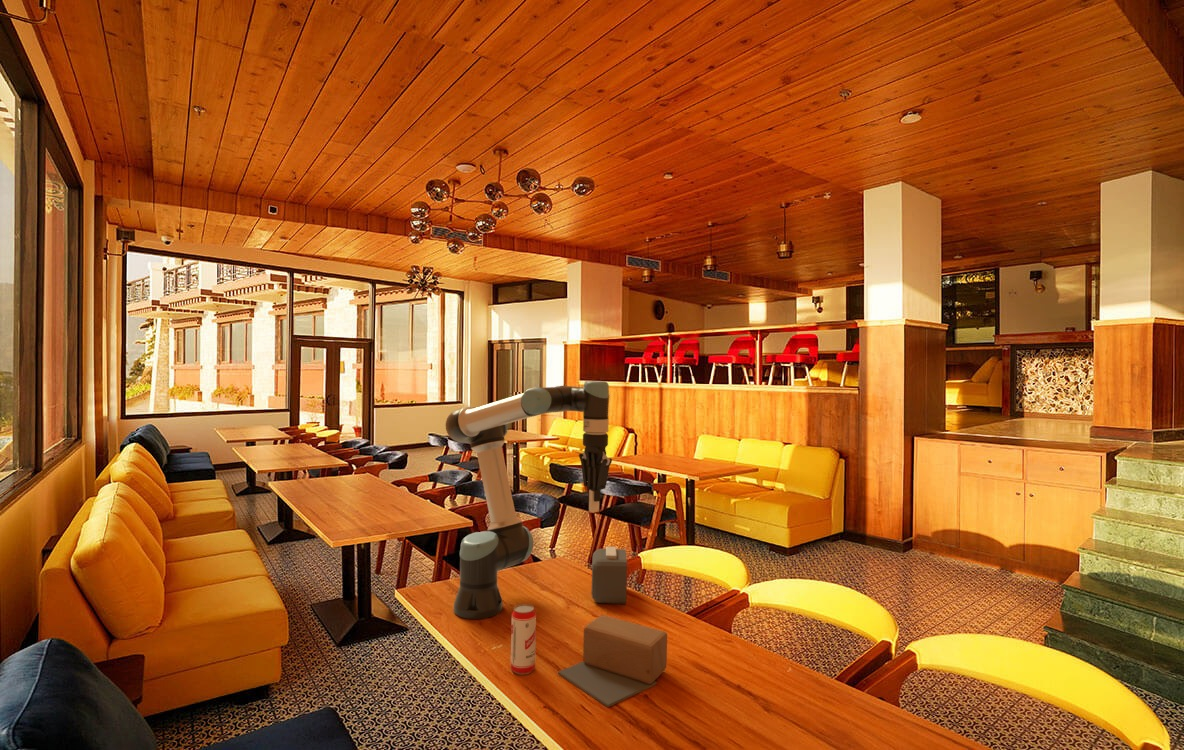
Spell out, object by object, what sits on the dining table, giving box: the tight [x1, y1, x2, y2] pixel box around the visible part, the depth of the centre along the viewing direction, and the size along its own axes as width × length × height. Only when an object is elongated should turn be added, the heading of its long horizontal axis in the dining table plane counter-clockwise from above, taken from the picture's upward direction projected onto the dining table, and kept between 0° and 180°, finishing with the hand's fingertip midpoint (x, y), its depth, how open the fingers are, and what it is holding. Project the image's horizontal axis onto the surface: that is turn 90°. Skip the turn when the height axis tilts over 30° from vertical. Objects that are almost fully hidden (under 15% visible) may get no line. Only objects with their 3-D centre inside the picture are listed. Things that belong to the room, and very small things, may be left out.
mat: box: [557, 660, 657, 708], centre depth 154 cm, size 19×16×1 cm
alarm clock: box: [591, 546, 628, 605], centre depth 208 cm, size 16×11×16 cm
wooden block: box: [582, 614, 668, 684], centre depth 159 cm, size 10×10×20 cm
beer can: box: [510, 603, 537, 676], centre depth 158 cm, size 6×6×16 cm
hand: (593, 511), depth 184 cm, fingers closed
